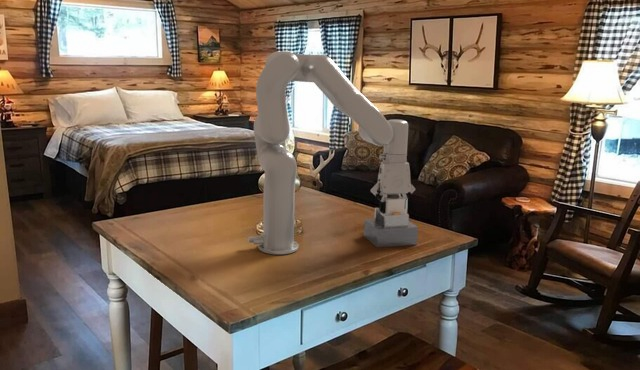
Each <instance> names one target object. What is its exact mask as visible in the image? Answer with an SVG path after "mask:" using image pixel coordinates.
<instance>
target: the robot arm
mask: <svg viewBox="0 0 640 370" xmlns="http://www.w3.org/2000/svg"><path fill="white" fill-rule="evenodd" d="M290 82H299V83H300V82H304V83H314V85H315V86H316V87H317V88H318V89H319V90H320V92H322V93H323V94H324V95H325V97H326V98H327V99H328V101H330V103H331V104H332V106H334V107H335V109H337V111H339V112H340V113H342V114H344V115H345V116H347V117H348V118H349V119H350V120H352V121H354V122H355V123H356V124H357V125H358V126H359V127H358V134H359V136H360V138H361V139H362V141H364V142H367V143H368V144H369V143H370V144H373V145H375V146H378V147H383V152H382V154H381V155H380V154H379V156H378V157H379V158H378V159H379V160H381V162H380V165H379V171H378V175H377V182H376V183H375V184H374V186H373V187H372V188H370V193H372V194H373V195H374V196H375V197H376V199H378V200H379V203H378V206H379V207H378V208H379V210H380V212H381V213H383V214H385V210H386V202H385V198H386V196H387V194H400V196H401V197H403V198H404V199H405V207H406V201H407V199H409V198H410V197H411V195H413V193H414V192H415V191H416V188H415V186H414V185H413V184H412V183H411V182H412V181H411V169H410V167H411V166H410V163H409V162H408V159H407V156H408V140H409V139H408V138H409V123H408V121H406V120H404V119H388V120H387V119H386V117H385V116H384V114H382V113H381V111H380V110H379V109H378V108H377V107H376V106H375V105H374V104H373V103H372V102H371V101H370V100H368V98H366V96H364V94H362V92H360V91H359V90H358V88H357V87H355V85H354V84H353V83H352V82H351V81H350V79H349V78H348V77H347V76H346V74H344V72H343V71H342V69H340V68H339V66H338V65H337V64H336V62H335V61H334V60H333V59H332V58H331V57H329V56H327V55H326V54H325V55H324V54H303V53H293V52H291V51H287V50H283V51H282V50H280V51H274V52H272V53H270V54H269V55H267V57H266V59H265V63H264V67H263V69H261V72H260V74H259V76H258V78H257V81H256V87H255V94H256V95H255V96H256V106H257V115H256V116H255V119H254V121H253V135H254V136H253V137H254V142H255V147H256V148H255V149H256V156H257V160H258V161H257V162H258V163H259V166H260V167H261V169H262V171H264V181H263V217H262V218H263V223H262V224H263V231H262V232H261V234H260V235H259V234H258V236H248V237H247V242H248V243H249V244H250V243H251V244H252V243H253V245H258V247H257V248H258V250H259V251H260V252H262V253H265V254H268V255H269V254H270V255H288V254H292V253H295V252H297V251H298V250H299V246H300V245H299V242H297V241H295V239H294V238H295V205H296V204H295V202H296V201H295V200H296V199H295V197H296V196H295V193H296V192H295V190H296V181H297V173H298V172H297V171H298V167H297V166H298V163H297V161H296V160H297V159H296V158H295V156H294V155H293V153H291V151H289V150H288V149H287V145H286V140H287V139H288V138H289V135H290V130H291V129H290V124H289V118H288V117H289V116H288V109H287V102H286V100H287V99H286V92H287V91H286V90H287V87H288V85H289V84H290ZM378 191H379V192H380V193H379V192H378Z"/></svg>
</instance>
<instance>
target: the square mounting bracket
mask: <svg viewBox="0 0 640 370" xmlns="http://www.w3.org/2000/svg"><path fill="white" fill-rule="evenodd" d="M409 219H410V215H409V213H407V214H401V213H400V212H396V213H393V215H385V217H384V216H382V215H381V214H380V210H379V207H374V217H373V218H364V227H363V228H364V229H363V230H364V231H363V237H365V238H366V239H367V241H369V242H370V243H371V244H372V245H373V246H375V247H376V248H386V247H401V246H403V247H404V246H417V245H418V236H419V235H418V234H419V233H418V232H419V226H417V224H414V222H412V221H410V220H409Z"/></svg>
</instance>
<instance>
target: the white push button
mask: <svg viewBox="0 0 640 370" xmlns="http://www.w3.org/2000/svg"><path fill="white" fill-rule="evenodd" d="M385 202H386V210H385V214H383V213H381V212H380V214H381V215H382V216H384V217H385V215H393V213H396V212H400V213H401V214H404V210H405V199H404V198H403V197H401V196H399V194H387V196H386V198H385Z"/></svg>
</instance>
